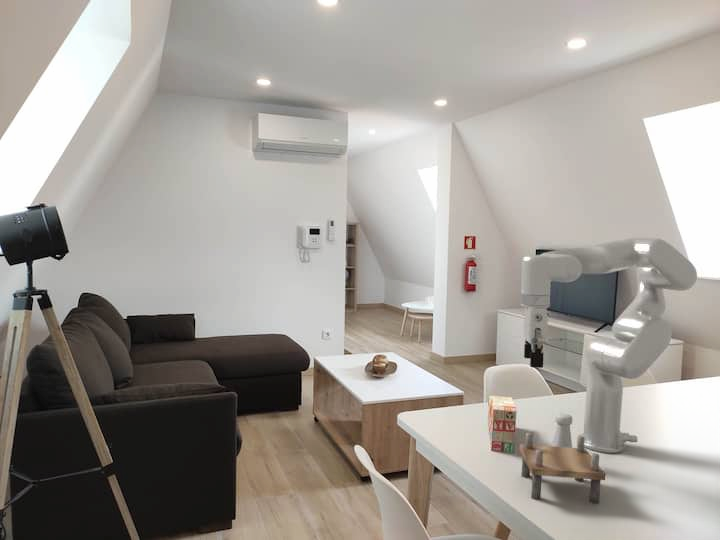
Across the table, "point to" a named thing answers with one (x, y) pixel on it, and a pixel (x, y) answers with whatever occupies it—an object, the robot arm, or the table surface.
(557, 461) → the shelf
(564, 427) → the salt shaker
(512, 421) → the stack of blocks
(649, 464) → the table surface
